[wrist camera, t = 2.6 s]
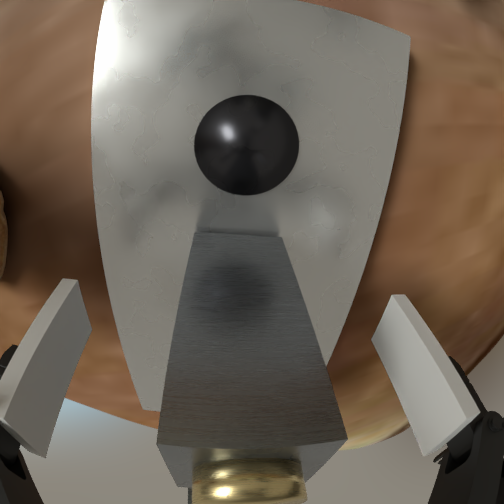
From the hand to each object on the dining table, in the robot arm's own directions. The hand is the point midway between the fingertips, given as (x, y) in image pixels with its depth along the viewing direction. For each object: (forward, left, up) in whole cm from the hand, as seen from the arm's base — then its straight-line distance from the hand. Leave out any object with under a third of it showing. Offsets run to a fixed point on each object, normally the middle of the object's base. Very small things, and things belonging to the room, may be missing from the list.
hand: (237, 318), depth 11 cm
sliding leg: (0, 0, -3) cm, 3 cm away
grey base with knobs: (0, +1, -5) cm, 5 cm away
